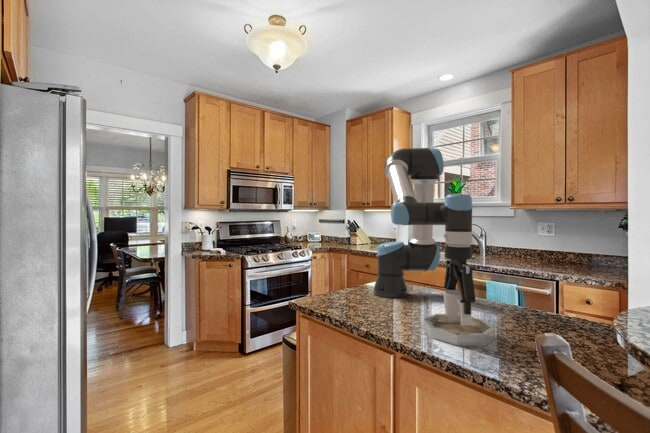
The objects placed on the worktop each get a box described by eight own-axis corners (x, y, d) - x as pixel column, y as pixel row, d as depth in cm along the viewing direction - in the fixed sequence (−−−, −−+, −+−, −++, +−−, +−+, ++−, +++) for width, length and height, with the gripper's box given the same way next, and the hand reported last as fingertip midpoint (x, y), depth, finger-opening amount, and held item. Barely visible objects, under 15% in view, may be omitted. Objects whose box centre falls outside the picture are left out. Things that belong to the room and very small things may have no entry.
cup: (477, 327, 91) (477, 298, 91) (447, 325, 93) (447, 297, 93) (468, 315, 102) (468, 290, 102) (441, 314, 103) (441, 289, 103)
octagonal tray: (419, 322, 107) (419, 313, 107) (475, 323, 106) (475, 314, 106) (437, 345, 89) (437, 334, 89) (505, 346, 88) (505, 335, 88)
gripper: (433, 242, 109) (433, 307, 109) (460, 249, 86) (460, 332, 86) (456, 242, 109) (456, 307, 109) (489, 249, 86) (489, 332, 86)
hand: (458, 318), depth 97 cm, fingers closed on cup, 11 cm apart
